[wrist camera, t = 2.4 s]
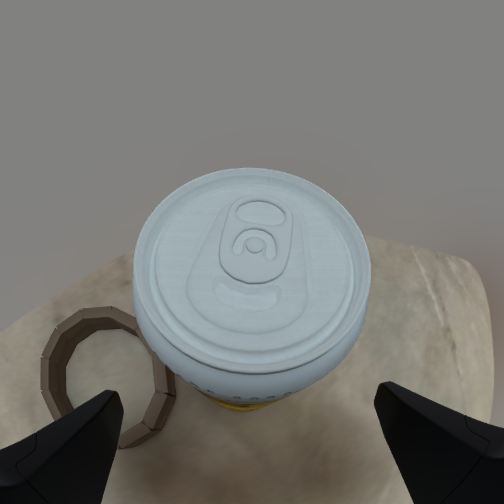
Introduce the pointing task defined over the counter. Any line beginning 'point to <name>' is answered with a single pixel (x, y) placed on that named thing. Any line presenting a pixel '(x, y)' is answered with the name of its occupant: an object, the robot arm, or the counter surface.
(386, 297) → the counter surface
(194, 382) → the beer can
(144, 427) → the collar
